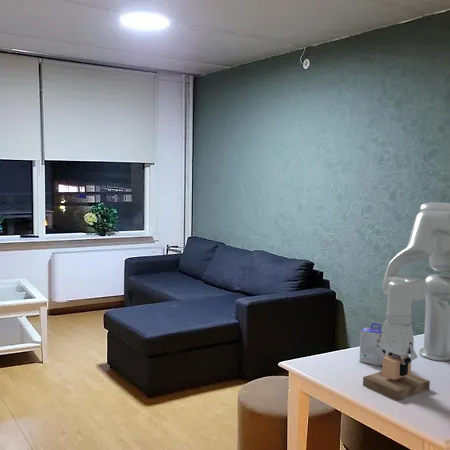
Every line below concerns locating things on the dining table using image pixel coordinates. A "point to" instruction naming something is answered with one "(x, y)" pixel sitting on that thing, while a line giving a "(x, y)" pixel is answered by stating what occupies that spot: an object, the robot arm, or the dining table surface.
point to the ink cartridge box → (371, 345)
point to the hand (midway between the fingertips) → (396, 371)
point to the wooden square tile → (396, 385)
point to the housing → (393, 367)
